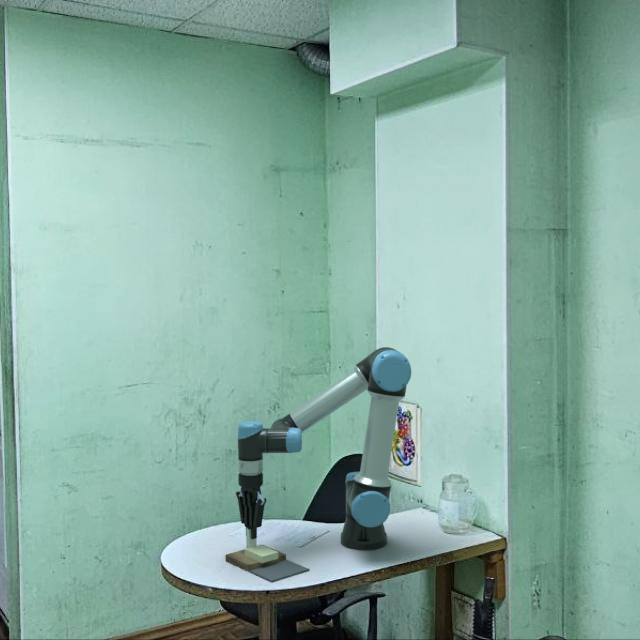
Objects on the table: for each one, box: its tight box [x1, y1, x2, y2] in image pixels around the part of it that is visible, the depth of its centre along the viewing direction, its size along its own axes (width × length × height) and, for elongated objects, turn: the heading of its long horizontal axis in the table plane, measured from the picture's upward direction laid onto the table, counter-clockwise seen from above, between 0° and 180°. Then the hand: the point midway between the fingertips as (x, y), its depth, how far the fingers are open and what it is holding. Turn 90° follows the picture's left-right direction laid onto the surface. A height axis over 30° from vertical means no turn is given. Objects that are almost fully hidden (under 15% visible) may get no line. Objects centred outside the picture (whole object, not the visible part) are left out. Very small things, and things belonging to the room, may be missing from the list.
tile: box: [244, 544, 278, 563], centre depth 252 cm, size 9×6×2 cm, turn 40°
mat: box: [249, 559, 310, 583], centre depth 246 cm, size 14×10×1 cm
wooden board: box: [225, 544, 287, 573], centre depth 255 cm, size 14×12×2 cm
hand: (251, 548), depth 256 cm, fingers closed
